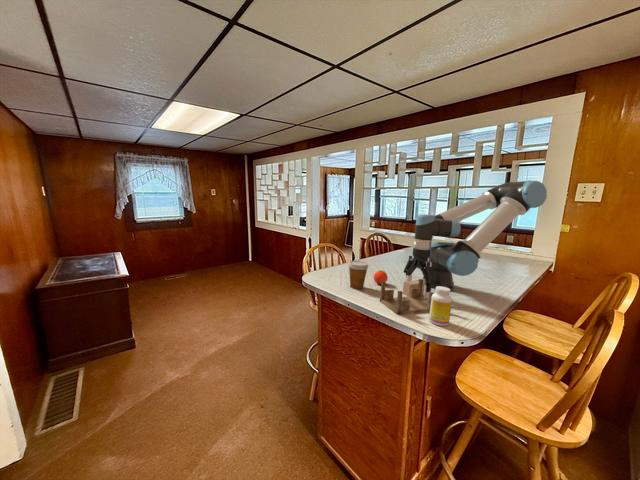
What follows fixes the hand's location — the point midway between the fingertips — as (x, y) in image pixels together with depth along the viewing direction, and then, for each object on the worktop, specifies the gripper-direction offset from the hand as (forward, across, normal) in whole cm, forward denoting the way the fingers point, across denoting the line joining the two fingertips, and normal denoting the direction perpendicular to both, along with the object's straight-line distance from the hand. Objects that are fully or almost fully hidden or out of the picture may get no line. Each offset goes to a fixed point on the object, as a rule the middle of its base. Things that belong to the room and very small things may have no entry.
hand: (416, 293), depth 123 cm
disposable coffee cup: (0, -13, -25) cm, 28 cm away
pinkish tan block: (0, 0, 0) cm, 0 cm away
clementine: (0, -16, -10) cm, 19 cm away
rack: (0, +12, -13) cm, 18 cm away
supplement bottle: (0, +27, -11) cm, 29 cm away
